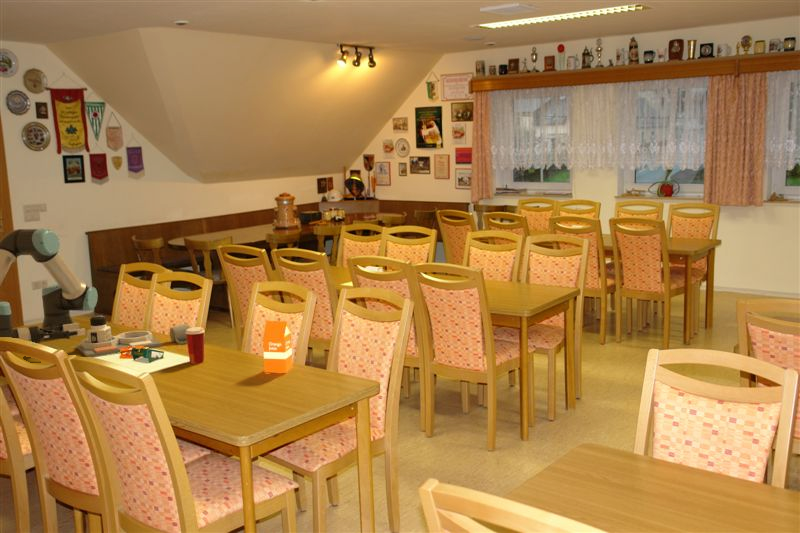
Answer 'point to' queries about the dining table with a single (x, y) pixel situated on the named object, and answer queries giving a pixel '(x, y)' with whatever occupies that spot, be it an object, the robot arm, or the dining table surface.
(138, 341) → the ring board
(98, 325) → the container
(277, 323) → the orange juice
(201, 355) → the paper cup
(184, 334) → the ceramic mug
